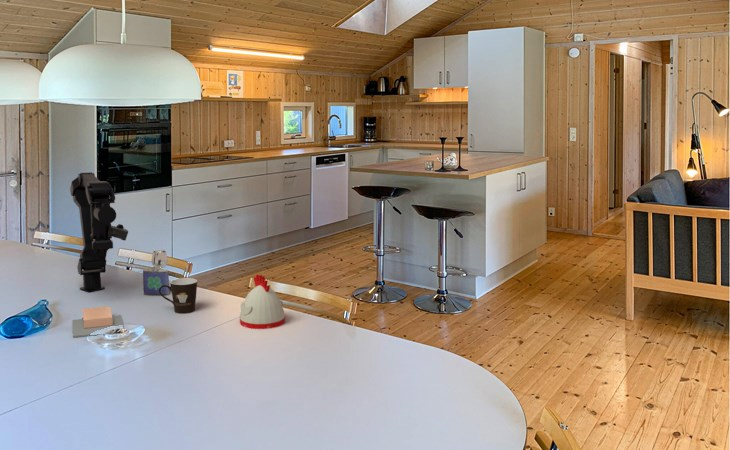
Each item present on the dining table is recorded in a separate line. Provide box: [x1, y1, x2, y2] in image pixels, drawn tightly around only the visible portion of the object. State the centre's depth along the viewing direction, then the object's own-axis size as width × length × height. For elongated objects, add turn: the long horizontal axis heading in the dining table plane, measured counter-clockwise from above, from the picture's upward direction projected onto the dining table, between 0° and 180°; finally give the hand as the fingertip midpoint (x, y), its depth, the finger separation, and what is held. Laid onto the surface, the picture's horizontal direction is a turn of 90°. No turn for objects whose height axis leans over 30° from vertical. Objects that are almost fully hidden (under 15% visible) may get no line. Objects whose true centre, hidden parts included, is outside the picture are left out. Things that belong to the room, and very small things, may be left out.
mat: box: [71, 314, 124, 339], centre depth 194 cm, size 16×14×1 cm
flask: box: [142, 265, 170, 297], centre depth 228 cm, size 9×3×11 cm, turn 87°
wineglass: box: [151, 249, 169, 270], centre depth 245 cm, size 6×6×12 cm
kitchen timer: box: [239, 274, 286, 330], centre depth 200 cm, size 14×14×15 cm
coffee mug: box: [159, 277, 198, 315], centre depth 211 cm, size 12×9×10 cm
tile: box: [82, 306, 113, 328], centre depth 197 cm, size 3×8×12 cm
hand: (102, 265), depth 217 cm, fingers closed
